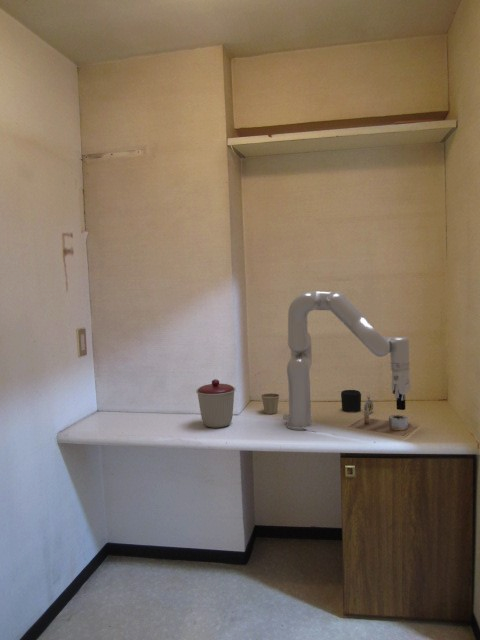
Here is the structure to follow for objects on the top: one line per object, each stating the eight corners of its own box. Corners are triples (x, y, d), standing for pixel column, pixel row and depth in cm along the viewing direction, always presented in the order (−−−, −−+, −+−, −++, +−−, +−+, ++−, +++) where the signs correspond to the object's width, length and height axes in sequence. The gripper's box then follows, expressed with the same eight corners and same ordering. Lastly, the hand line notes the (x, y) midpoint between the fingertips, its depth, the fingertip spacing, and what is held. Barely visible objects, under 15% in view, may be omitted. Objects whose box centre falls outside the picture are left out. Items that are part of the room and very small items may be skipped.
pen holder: (337, 412, 236) (337, 392, 235) (349, 408, 242) (348, 388, 241) (353, 416, 229) (353, 395, 228) (365, 412, 235) (364, 391, 234)
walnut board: (348, 429, 209) (348, 426, 209) (363, 420, 222) (363, 417, 222) (403, 438, 195) (403, 435, 195) (416, 428, 207) (416, 425, 207)
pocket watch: (383, 419, 222) (383, 397, 221) (364, 419, 223) (364, 397, 222) (382, 414, 229) (381, 393, 229) (363, 414, 231) (363, 393, 230)
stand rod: (363, 423, 212) (363, 411, 212) (365, 422, 214) (365, 410, 214) (367, 424, 211) (367, 412, 211) (369, 423, 213) (369, 411, 212)
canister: (242, 420, 230) (240, 376, 228) (229, 431, 213) (227, 384, 211) (206, 418, 236) (204, 375, 234) (191, 429, 219) (189, 383, 217)
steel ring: (393, 429, 200) (393, 420, 200) (386, 424, 207) (386, 415, 207) (410, 428, 201) (410, 418, 201) (402, 423, 208) (402, 414, 208)
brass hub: (387, 429, 203) (387, 421, 203) (393, 425, 209) (393, 417, 208) (403, 431, 199) (403, 423, 199) (409, 427, 205) (408, 419, 204)
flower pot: (261, 410, 246) (260, 393, 245) (279, 409, 246) (279, 392, 245) (261, 415, 237) (260, 397, 236) (280, 414, 236) (280, 397, 236)
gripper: (402, 370, 196) (403, 414, 197) (414, 363, 208) (415, 406, 209) (384, 368, 200) (385, 412, 202) (397, 362, 212) (398, 404, 214)
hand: (401, 409), depth 206 cm, fingers closed
